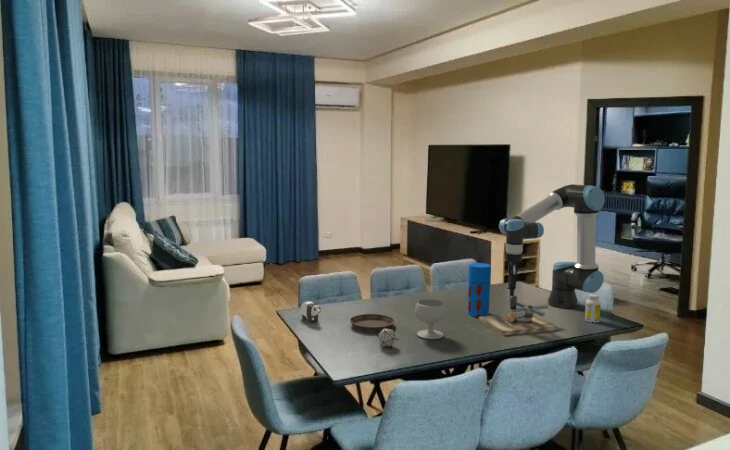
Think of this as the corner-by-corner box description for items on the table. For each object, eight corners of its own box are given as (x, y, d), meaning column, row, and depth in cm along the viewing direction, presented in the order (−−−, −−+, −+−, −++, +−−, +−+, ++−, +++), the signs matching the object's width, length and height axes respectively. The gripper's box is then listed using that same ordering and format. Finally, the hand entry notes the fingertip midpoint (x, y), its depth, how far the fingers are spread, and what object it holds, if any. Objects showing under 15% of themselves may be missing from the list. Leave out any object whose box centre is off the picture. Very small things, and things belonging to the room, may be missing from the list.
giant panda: (299, 318, 266) (299, 299, 265) (310, 316, 269) (310, 297, 268) (314, 326, 254) (314, 306, 253) (324, 324, 257) (324, 304, 256)
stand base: (529, 316, 273) (529, 311, 272) (556, 330, 252) (557, 325, 252) (478, 320, 265) (478, 316, 264) (502, 335, 244) (503, 330, 244)
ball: (512, 320, 257) (512, 313, 257) (516, 323, 254) (516, 315, 253) (505, 321, 256) (505, 313, 255) (509, 323, 253) (509, 316, 252)
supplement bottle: (599, 320, 267) (601, 294, 266) (599, 323, 261) (601, 297, 260) (584, 318, 270) (586, 292, 268) (584, 321, 264) (585, 295, 262)
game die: (382, 354, 231) (374, 331, 235) (401, 346, 231) (393, 324, 235) (381, 350, 222) (372, 327, 226) (400, 343, 223) (391, 320, 227)
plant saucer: (372, 317, 270) (372, 310, 269) (403, 327, 255) (403, 320, 255) (340, 326, 256) (340, 319, 255) (372, 337, 241) (372, 330, 240)
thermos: (489, 317, 269) (491, 268, 266) (466, 316, 271) (468, 266, 268) (488, 311, 280) (490, 263, 276) (467, 310, 282) (468, 262, 279)
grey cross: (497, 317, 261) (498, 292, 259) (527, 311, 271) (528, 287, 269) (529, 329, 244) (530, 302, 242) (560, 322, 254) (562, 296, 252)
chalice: (438, 343, 234) (439, 308, 232) (408, 336, 241) (409, 303, 239) (451, 333, 246) (452, 301, 244) (422, 328, 253) (423, 296, 251)
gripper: (503, 249, 260) (501, 298, 263) (506, 255, 247) (504, 305, 251) (520, 250, 259) (517, 299, 262) (524, 255, 246) (520, 306, 250)
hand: (510, 302), depth 257 cm, fingers closed
